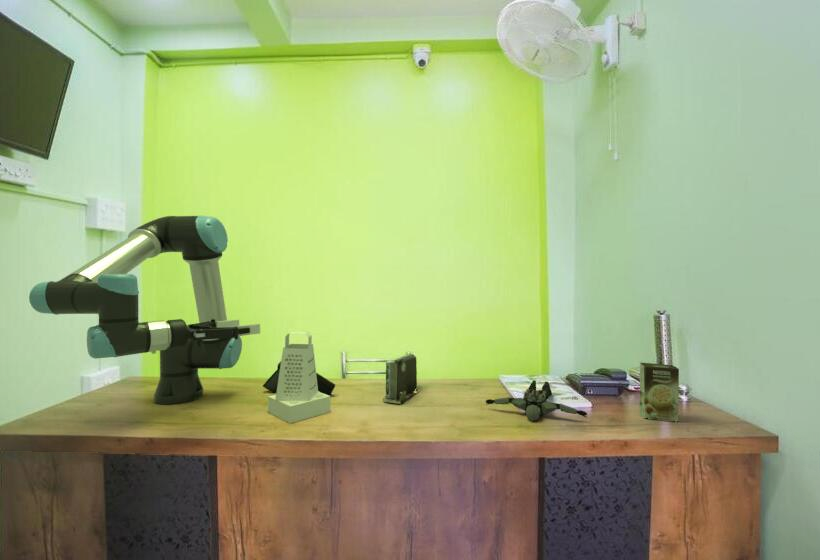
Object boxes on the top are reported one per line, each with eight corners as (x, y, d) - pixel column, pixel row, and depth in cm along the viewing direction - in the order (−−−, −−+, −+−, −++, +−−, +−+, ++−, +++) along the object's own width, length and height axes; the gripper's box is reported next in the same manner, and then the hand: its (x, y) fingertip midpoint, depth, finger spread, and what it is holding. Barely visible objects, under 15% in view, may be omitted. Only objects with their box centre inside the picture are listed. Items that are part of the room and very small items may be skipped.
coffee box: (643, 419, 117) (643, 366, 117) (638, 412, 123) (638, 362, 123) (679, 422, 114) (679, 368, 114) (672, 415, 120) (672, 364, 120)
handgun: (314, 421, 140) (333, 386, 138) (262, 386, 144) (280, 351, 142) (317, 418, 142) (336, 384, 141) (265, 384, 146) (283, 350, 145)
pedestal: (268, 412, 122) (268, 395, 122) (306, 402, 133) (306, 386, 133) (290, 423, 113) (290, 405, 113) (330, 411, 123) (330, 395, 123)
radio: (407, 386, 154) (407, 348, 154) (427, 388, 150) (427, 350, 150) (377, 402, 133) (377, 359, 133) (399, 406, 129) (399, 361, 129)
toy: (498, 390, 148) (481, 422, 120) (498, 369, 147) (480, 395, 120) (585, 400, 136) (587, 438, 108) (585, 377, 135) (587, 408, 108)
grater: (309, 401, 118) (310, 336, 117) (275, 399, 118) (276, 335, 118) (318, 390, 128) (319, 330, 128) (286, 389, 129) (288, 330, 128)
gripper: (152, 343, 106) (231, 334, 122) (183, 357, 90) (269, 344, 105) (152, 316, 106) (230, 310, 122) (182, 325, 89) (269, 317, 105)
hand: (248, 326), depth 114 cm, fingers open, 13 cm apart
